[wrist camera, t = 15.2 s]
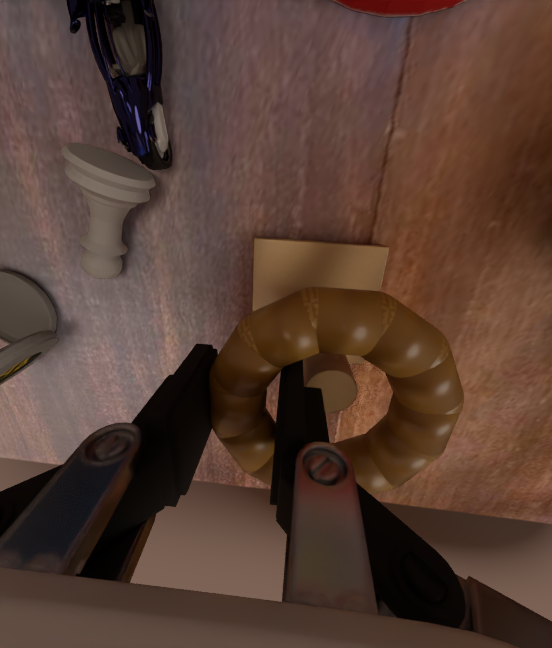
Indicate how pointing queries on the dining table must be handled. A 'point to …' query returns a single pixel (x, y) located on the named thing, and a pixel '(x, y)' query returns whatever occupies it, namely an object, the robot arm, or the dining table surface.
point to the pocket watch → (23, 324)
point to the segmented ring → (346, 339)
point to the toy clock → (398, 6)
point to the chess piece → (105, 202)
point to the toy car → (130, 72)
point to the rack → (318, 271)
